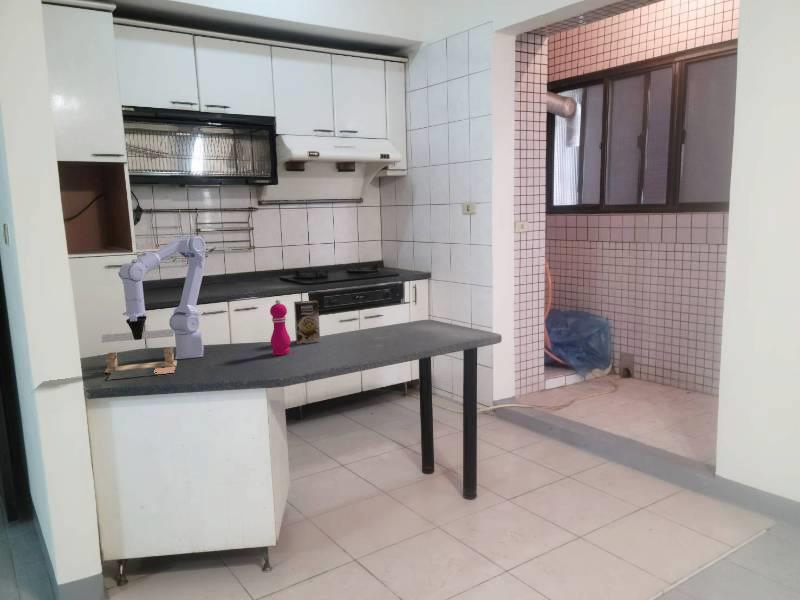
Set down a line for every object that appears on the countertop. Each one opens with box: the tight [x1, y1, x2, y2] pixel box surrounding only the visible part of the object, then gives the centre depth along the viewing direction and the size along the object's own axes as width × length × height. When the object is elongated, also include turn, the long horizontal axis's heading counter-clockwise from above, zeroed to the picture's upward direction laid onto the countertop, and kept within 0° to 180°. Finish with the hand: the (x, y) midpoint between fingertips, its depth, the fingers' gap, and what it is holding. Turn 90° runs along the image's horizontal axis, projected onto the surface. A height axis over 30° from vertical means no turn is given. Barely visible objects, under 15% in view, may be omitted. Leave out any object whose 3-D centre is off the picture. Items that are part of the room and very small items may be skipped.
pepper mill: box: [269, 299, 292, 356], centre depth 213 cm, size 7×7×20 cm
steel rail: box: [101, 328, 174, 344], centre depth 198 cm, size 22×2×2 cm, turn 106°
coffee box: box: [293, 300, 321, 345], centre depth 231 cm, size 9×6×16 cm
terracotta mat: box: [154, 367, 176, 375], centre depth 193 cm, size 20×8×1 cm, turn 107°
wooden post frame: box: [104, 346, 178, 373], centre depth 200 cm, size 22×6×6 cm, turn 107°
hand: (138, 338), depth 198 cm, fingers closed on steel rail, 2 cm apart
